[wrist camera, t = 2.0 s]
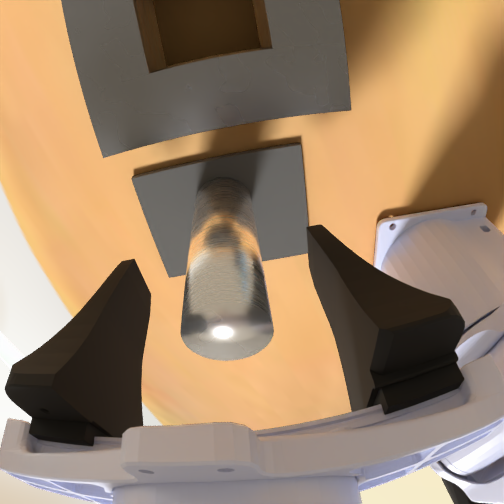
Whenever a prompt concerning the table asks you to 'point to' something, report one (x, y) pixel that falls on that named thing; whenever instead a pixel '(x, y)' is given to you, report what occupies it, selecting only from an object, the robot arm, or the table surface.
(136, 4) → the hole block
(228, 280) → the steel pin
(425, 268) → the robot arm
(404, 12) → the table surface
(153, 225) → the rubber mat
